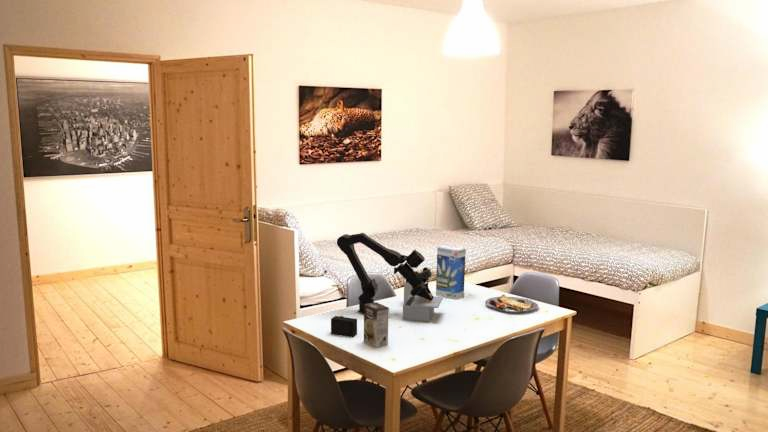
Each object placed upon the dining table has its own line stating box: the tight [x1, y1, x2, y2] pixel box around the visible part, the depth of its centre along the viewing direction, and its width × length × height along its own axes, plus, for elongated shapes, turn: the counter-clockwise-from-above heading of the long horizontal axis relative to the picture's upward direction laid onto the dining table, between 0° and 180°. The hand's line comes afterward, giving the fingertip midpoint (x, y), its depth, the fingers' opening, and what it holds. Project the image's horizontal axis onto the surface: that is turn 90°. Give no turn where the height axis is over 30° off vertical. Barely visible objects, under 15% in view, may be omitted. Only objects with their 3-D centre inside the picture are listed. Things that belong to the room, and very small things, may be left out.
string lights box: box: [435, 244, 467, 300], centre depth 334 cm, size 13×8×26 cm, turn 50°
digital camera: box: [330, 315, 358, 338], centre depth 275 cm, size 10×5×7 cm, turn 68°
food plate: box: [484, 294, 539, 313], centre depth 317 cm, size 25×23×4 cm
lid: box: [411, 292, 444, 309], centre depth 298 cm, size 12×16×4 cm
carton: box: [402, 296, 435, 323], centre depth 300 cm, size 12×16×7 cm
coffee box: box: [363, 301, 390, 349], centre depth 262 cm, size 9×6×16 cm
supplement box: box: [403, 278, 416, 304], centre depth 318 cm, size 7×7×13 cm
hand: (432, 299), depth 298 cm, fingers closed on lid, 3 cm apart
